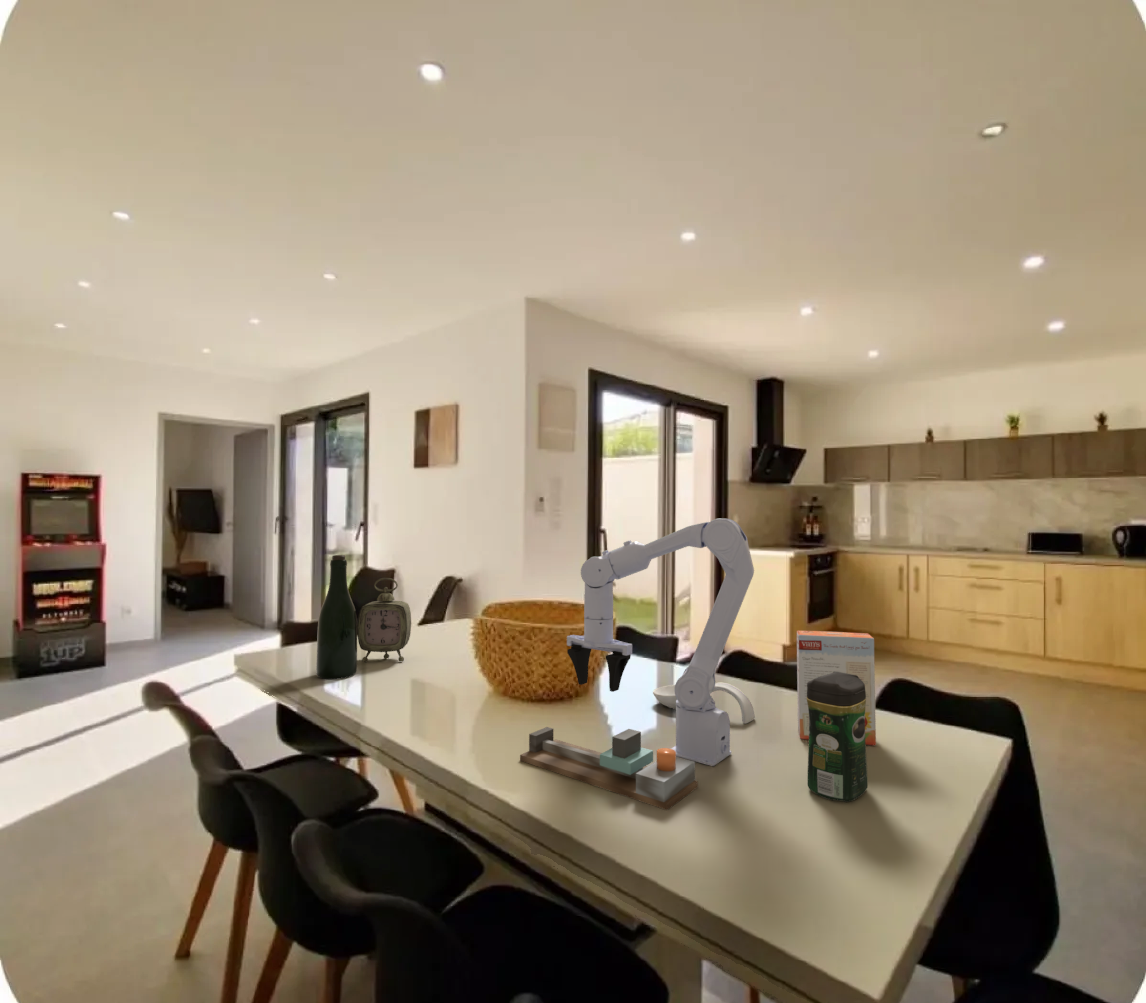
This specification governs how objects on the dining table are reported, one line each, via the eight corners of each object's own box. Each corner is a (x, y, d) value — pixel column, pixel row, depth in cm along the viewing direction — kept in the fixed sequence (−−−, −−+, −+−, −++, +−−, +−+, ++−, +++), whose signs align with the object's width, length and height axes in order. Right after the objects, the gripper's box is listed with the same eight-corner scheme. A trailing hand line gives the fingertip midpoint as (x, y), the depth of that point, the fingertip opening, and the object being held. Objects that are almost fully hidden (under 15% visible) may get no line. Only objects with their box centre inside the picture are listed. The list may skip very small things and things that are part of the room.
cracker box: (870, 736, 124) (869, 632, 125) (876, 747, 118) (875, 637, 119) (796, 729, 128) (796, 628, 129) (799, 739, 122) (798, 633, 123)
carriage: (653, 761, 104) (653, 732, 104) (630, 774, 98) (630, 744, 98) (623, 752, 107) (623, 725, 108) (599, 765, 102) (599, 735, 102)
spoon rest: (643, 707, 143) (643, 676, 144) (669, 696, 152) (669, 667, 153) (740, 730, 128) (740, 695, 129) (762, 716, 137) (762, 683, 138)
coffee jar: (825, 774, 105) (825, 665, 106) (874, 790, 100) (873, 674, 100) (798, 791, 99) (798, 675, 99) (848, 809, 93) (848, 685, 94)
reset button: (679, 766, 98) (679, 751, 99) (669, 773, 96) (669, 756, 96) (662, 762, 100) (662, 746, 100) (653, 768, 98) (653, 752, 98)
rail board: (697, 787, 100) (697, 762, 100) (667, 810, 92) (667, 783, 92) (555, 744, 119) (555, 723, 119) (519, 760, 111) (519, 737, 111)
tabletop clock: (356, 664, 183) (358, 579, 183) (364, 657, 192) (365, 576, 192) (406, 663, 184) (407, 579, 184) (411, 656, 193) (413, 576, 193)
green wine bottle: (347, 680, 164) (349, 556, 165) (309, 679, 165) (311, 555, 166) (362, 670, 175) (364, 554, 176) (326, 670, 175) (328, 553, 176)
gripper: (557, 616, 123) (557, 684, 123) (617, 624, 114) (617, 698, 114) (579, 612, 129) (578, 677, 128) (638, 619, 120) (638, 690, 119)
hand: (598, 687), depth 121 cm, fingers open, 7 cm apart
